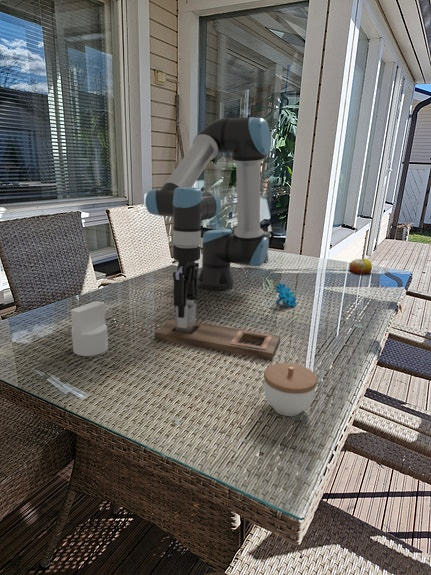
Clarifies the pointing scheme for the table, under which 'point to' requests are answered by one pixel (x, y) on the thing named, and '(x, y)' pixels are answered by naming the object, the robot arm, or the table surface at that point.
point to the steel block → (188, 319)
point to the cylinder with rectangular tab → (89, 329)
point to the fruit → (360, 266)
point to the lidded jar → (289, 388)
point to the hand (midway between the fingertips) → (185, 323)
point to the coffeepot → (267, 235)
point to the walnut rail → (222, 339)
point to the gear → (286, 295)
